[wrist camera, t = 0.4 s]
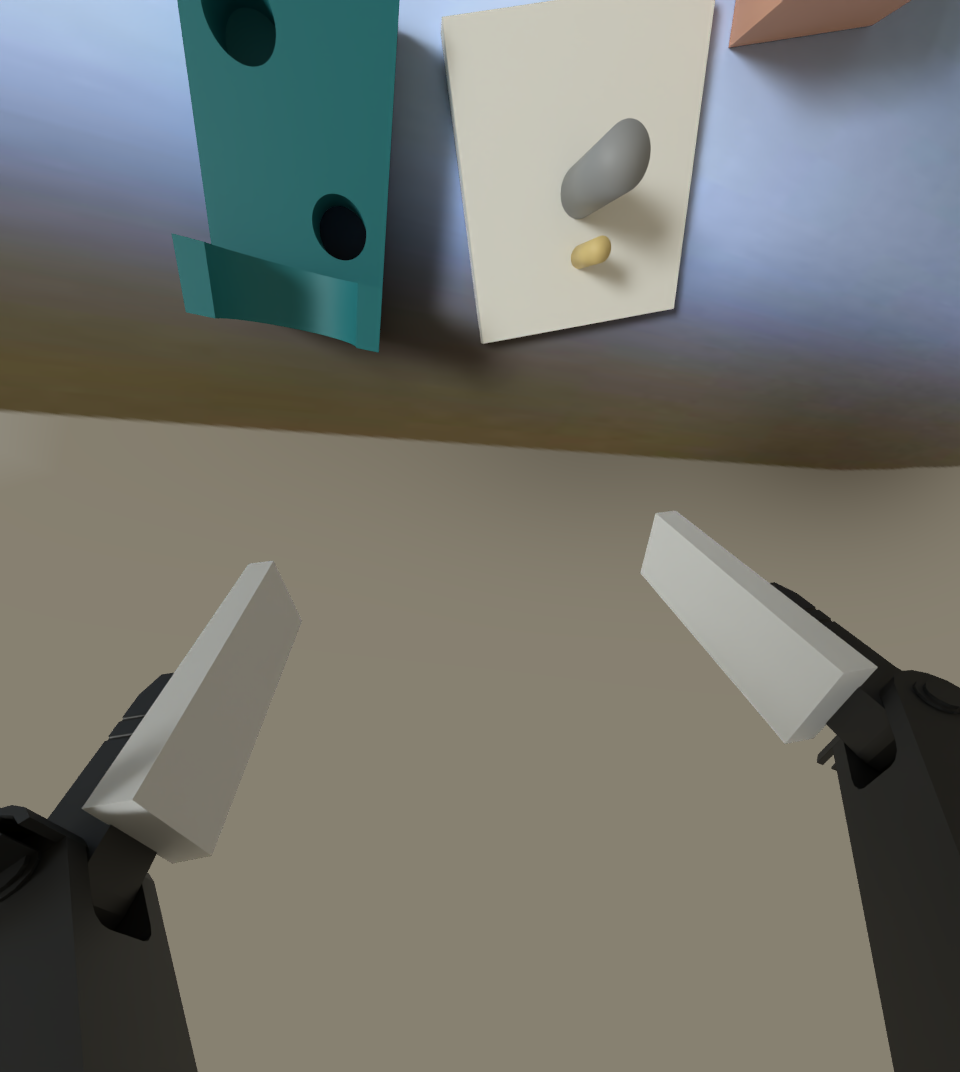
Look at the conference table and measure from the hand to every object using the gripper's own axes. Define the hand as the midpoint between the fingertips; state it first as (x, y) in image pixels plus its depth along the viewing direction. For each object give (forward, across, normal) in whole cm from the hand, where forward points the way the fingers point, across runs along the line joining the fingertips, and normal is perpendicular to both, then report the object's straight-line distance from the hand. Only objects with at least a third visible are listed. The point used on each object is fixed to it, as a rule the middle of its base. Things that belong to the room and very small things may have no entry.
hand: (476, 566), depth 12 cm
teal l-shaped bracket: (+28, -8, +16) cm, 33 cm away
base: (+27, +12, +15) cm, 33 cm away
